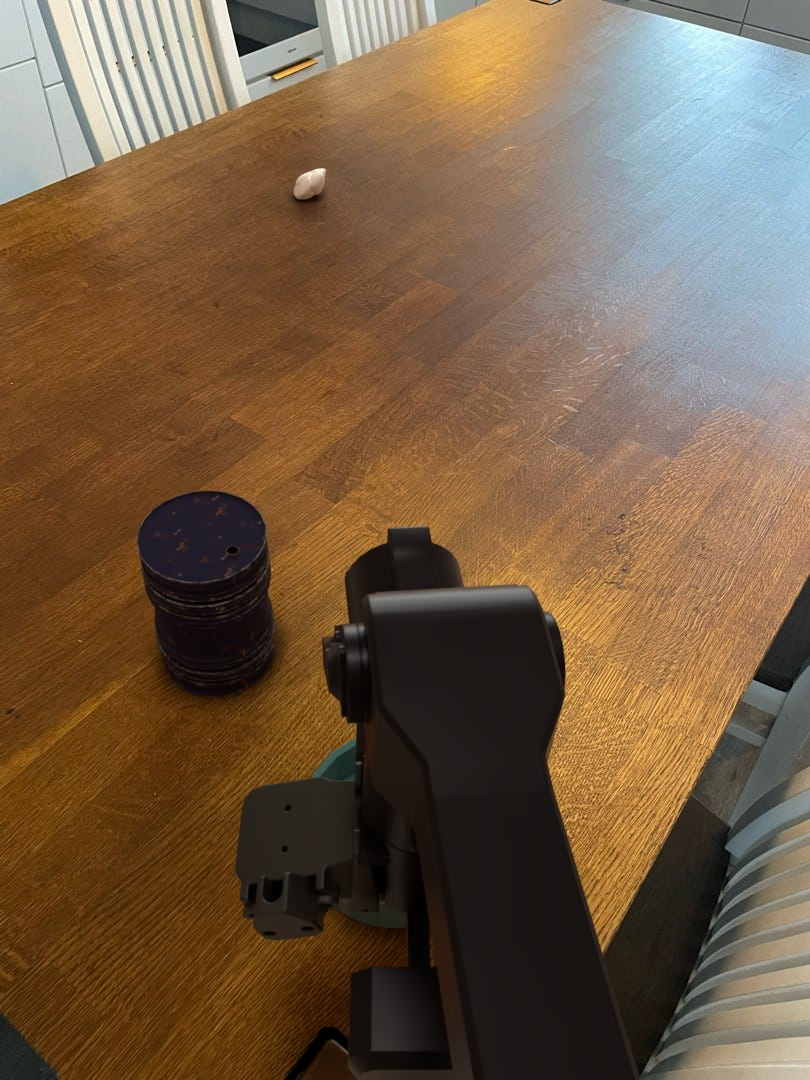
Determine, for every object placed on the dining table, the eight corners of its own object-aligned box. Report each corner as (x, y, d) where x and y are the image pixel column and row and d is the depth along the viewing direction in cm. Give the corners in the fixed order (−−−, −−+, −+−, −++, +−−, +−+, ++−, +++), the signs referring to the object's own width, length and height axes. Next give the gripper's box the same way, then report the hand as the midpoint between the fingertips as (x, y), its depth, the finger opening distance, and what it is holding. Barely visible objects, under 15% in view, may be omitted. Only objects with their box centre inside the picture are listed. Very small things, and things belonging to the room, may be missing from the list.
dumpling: (324, 207, 136) (318, 184, 132) (292, 208, 137) (285, 186, 134) (333, 179, 139) (327, 156, 136) (302, 181, 141) (295, 158, 137)
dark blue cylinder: (137, 663, 77) (106, 546, 66) (211, 591, 83) (193, 472, 72) (229, 718, 74) (212, 605, 63) (298, 638, 80) (294, 522, 69)
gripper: (262, 620, 45) (275, 772, 56) (213, 1028, 32) (243, 1118, 44) (481, 626, 46) (450, 775, 57) (518, 1028, 33) (468, 1117, 44)
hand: (404, 924), depth 50 cm, fingers open, 9 cm apart
